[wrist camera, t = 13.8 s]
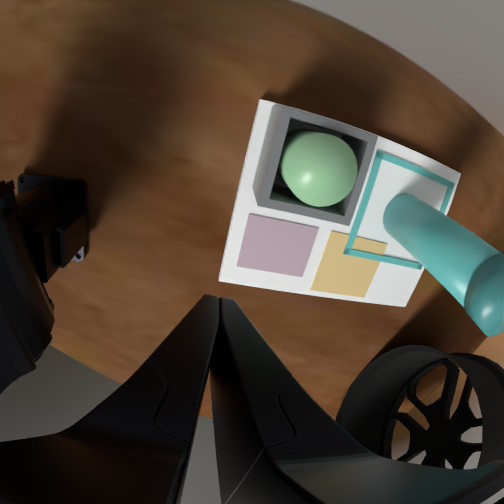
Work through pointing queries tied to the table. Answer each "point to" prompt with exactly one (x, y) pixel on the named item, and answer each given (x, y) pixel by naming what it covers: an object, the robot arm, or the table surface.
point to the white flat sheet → (333, 229)
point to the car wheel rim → (437, 414)
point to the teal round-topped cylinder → (451, 258)
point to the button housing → (284, 196)
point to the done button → (317, 167)
